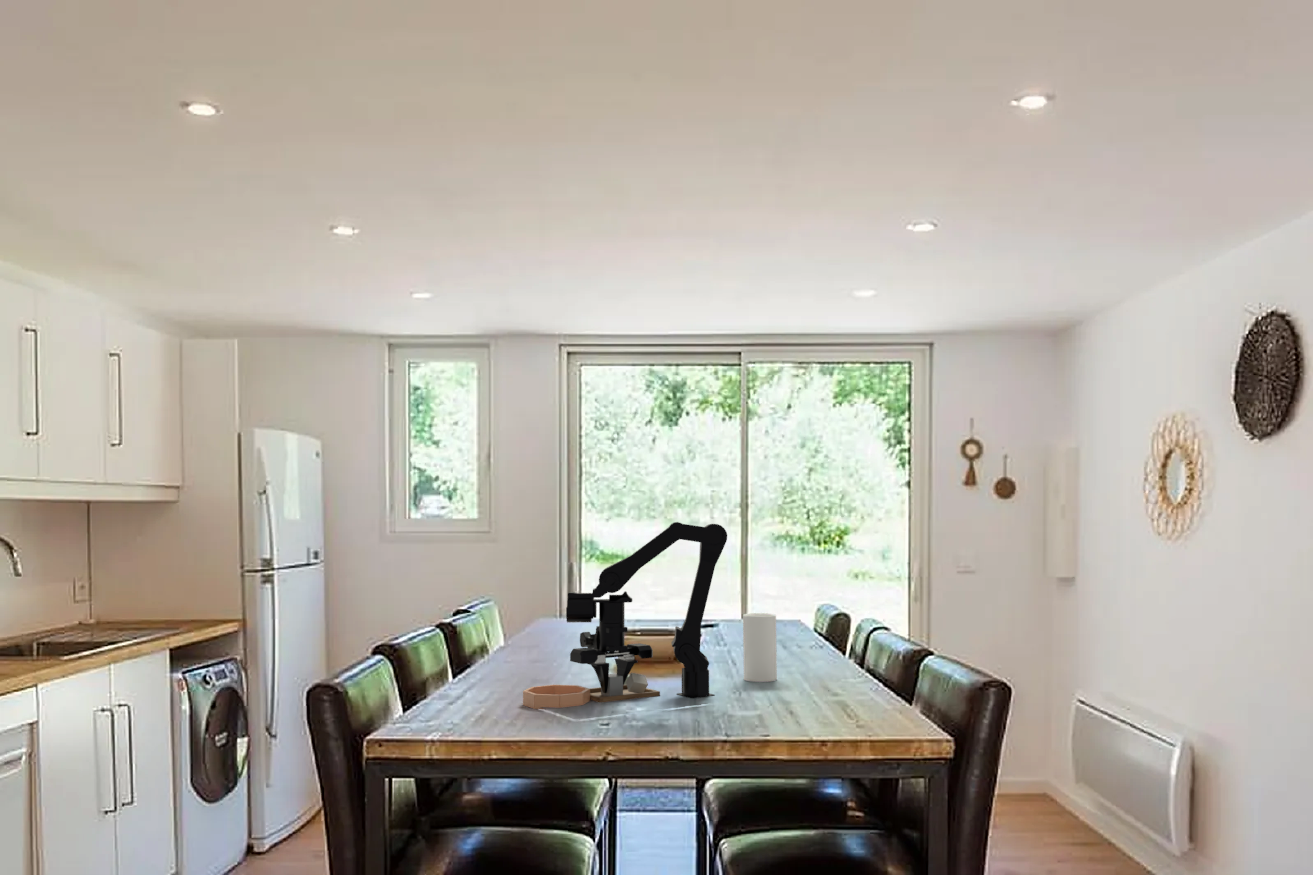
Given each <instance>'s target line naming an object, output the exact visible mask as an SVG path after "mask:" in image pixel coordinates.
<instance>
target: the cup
mask: <svg viewBox="0 0 1313 875" xmlns="http://www.w3.org/2000/svg"><path fill="white" fill-rule="evenodd" d="M742 622H743V623H742V626H743V627H742V631H743V632H742V635H743V637H742V638H743V640H742V641H743V642H742V645H743V648H742V649H743V680H744V681H745V682H746V681H747V682H753V683H755V682H756V683H770V682H775V681H777V680H778V679H777V678H778V673H777V672H778V670H777V667H778V665H777V664H778V663H777V660H778V658H777V654H778V653H777V615H776V614H774V613H768V612H767V613H765V612H764V613H762V612H760V613H756V612H755V613H754V612H753V613H744V614H743V615H742Z"/></svg>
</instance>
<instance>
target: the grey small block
mask: <svg viewBox="0 0 1313 875" xmlns="http://www.w3.org/2000/svg"><path fill="white" fill-rule="evenodd" d="M629 674H630V676H629V677H628V679H627V681H626V684H627V688H628V692H633V693H644V691H645V689H646V688H648V686H649V682H648V680H647V676H646V675H645V674H641V673H636V672H631V673H629Z"/></svg>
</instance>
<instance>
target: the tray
mask: <svg viewBox="0 0 1313 875" xmlns="http://www.w3.org/2000/svg"><path fill="white" fill-rule="evenodd" d="M589 689H590V701H593V702H596V703H607V702H616V701H625V700H627V701H628V700H633V699H643V698H652V697H660V696H661V690H660V691H659V690H655V689H651V688H648V687H646V689H645V691H644V693H633V692H628V688H627V685H623V695H617V696H608V697H607V696H604V695H601V686H600V687H591V688H589Z"/></svg>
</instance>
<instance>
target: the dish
mask: <svg viewBox="0 0 1313 875" xmlns="http://www.w3.org/2000/svg"><path fill="white" fill-rule="evenodd" d="M590 701H591V700H590V689H589V688H588V687H586V686H582V685H578V684H546V685H545V684H544V685H539V686H530V687H528V688H527V689H525V690H523V691H522V706H525V707H527V708H531V709H534V710H545V708H556V709H557V708H558V709H559V708H567V707H569V708H570V707H575V706H577V707H578V706H584V705H585V704H587V703H589V702H590Z"/></svg>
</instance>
